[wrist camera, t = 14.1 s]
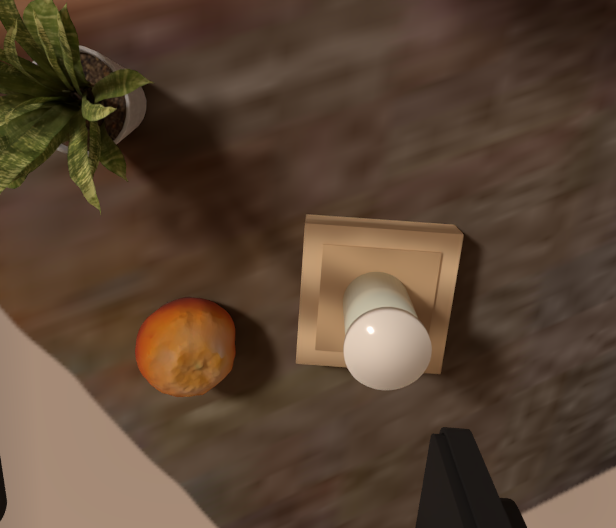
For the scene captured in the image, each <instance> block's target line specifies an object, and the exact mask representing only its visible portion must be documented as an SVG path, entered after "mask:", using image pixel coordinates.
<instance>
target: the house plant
mask: <svg viewBox="0 0 616 528" xmlns="http://www.w3.org/2000/svg"><path fill="white" fill-rule="evenodd" d="M0 20H1V22H2V24H3V25H4V27H5V29H6V30H7V34H6V37H5V40H4V50H3V49H1V48H0V60H2V61H5V62H7V63H9V64H11V65H13V66H14V67H13V66H11V65H8V64H6V63H3V62H1V61H0V93H3V94H8V95H6V96H2V97H0V193H1V192H2V191H3V190H4V189H5V188H6V187H7V188H13V189H15V188H17V187H19V186H20V185H21V184H22V183H23V182H24V180H25V179H26V177H27V175H28V174H29V173H30V172H32V171H33V170H35V169H36V168H37V167H38V166H40V165H41V164H42V163H44V162H45V161H46V160H47V159H48V158H49V157H50V156H51V155H52V154H53V153H54V152H55V150H56V149H57V150H58V151H61V152H63V153H66V154H68V155H67V158H68V168H69V174H70V178H71V179H72V180H73V181H74V182H75V183H76V184H77V185H78V186H79V187H80V189H81V191H82V193H83V195H84V196H85V198H86V199H87V201H88V202H89V203H90V204H92V205H93V206H95V207H96V208H97V209H98V210H100V214H101V209H100V204H99V201H98V198H97V195H96V191H95V187H94V183H93V175H94V173H95V171H96V169H97V166H98V163H99V161H100V162H101V163H102V165H103V166H105V167H106V168H107V169H108V170H110V171H112V172H113V173H115V174H117V175H118V176H120V177H122V178H123V179H125V180H126V181H127V179H126V163H125V159H124V157H123V155H122V153H121V151H120V149H119V148H118V146H117V144H118V143H119V142H120V141H121V140H123V139H124V138H125V137H126V136H127V135H129V134H130V133H131V132H132V131H133V130H134V129H136V128H137V127H138V126H139V125H140V123H141V122H142V120H143V119H144V116H145V112H146V102H147V100H146V97H145V94H144V91H143V89H142V87H141V86H143V85H145V84H148V83H153V82H151V81H149V80H147V79H146V78H145V77H143V76H142V75H141V74H140V73H138V72H137V71H135V70H130V69H125V68H123V67H122V66H120V65H118V64H117V63H115V62H113V61H112V60H110V59H108V58H107V57H105V56H103V55H102V54H100V53H98V52H96V51H94V50H91V49H89V48H87V47H84V46H79V42H78V35H77V33H76V30H75V27H74V25H73V23H72V21H71V19H70V16H69V13H68V11H67V3H66V4H65V6H64V7H63V8H62V9H61V10H60V11H58V8H56V6H55V5H54V3H53V0H35V1H32V2H30V3H29V4H28V6H27V7H26V8H25V10H24V14H23V21H24V23H23V21H22V19H21V16H20V14H19V12H18V10H17V8H16V5H15V3H14V0H0ZM15 40H16V41H17V42H18V43H19V44H20V45H21V46H22V48H23V49H24V50H25V51H26V52H27V54H28V55H29V56H30V57H31V58H32V59H33V60H34V61H33V63H32V62H30V61H28V60H26V59H23V58H21V57H19V56H17V52H16V49H15V43H14V41H15ZM127 182H128V181H127Z"/></svg>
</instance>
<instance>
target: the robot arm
mask: <svg viewBox="0 0 616 528" xmlns="http://www.w3.org/2000/svg"><path fill="white" fill-rule="evenodd" d="M6 506H7V498H6V491H5V485H4V478H3V472H2V465H1V458H0V521H1V519H2V518H3V515H4V513H5V510H6ZM416 528H527V526H526V524H525V522H524V520H523V517H522V515H521V513H520V511H519V509H518V507H517V505H516V504H515V502H514V501H513V500H511V499H508V498H499V496H498V493H497V491H496V489H495V486H494V484H493V481H492V479H491V477H490V474H489V472H488V470H487V467H486V465H485V463H484V460H483V458H482V456H481V453H480V451H479V448H478V446H477V444H476V441H475V439H474V437H473V434H472V432H471V431H470V430H469V429H460V428H447V427H443V428H441V430H440V434H432V435H431V439H430V444H429V450H428V456H427V462H426V468H425V474H424V480H423V486H422V492H421V498H420V504H419V510H418V516H417V522H416Z"/></svg>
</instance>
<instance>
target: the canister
mask: <svg viewBox="0 0 616 528" xmlns="http://www.w3.org/2000/svg"><path fill="white" fill-rule="evenodd" d="M343 315H344V326H345V338H344V343H343V350H344V359H345V363H346V366H347V368H348V370H349V371H350V373H351V374H352V375H353V377H354V378H355V379H357V380H358V381H359V382H360V383H362V384H364V385H366V386H368V387H370V388H374V389H378V390H395V389H399V388H402V387H405V386H407V385H409V384H411V383H413V382H414V381H416V380H417V379H418V378H419V377H420V376H421V375H422V374H423V373H424V371H425V370H426V368H427V367H428V365H429V362H430V359H431V354H432V346H431V341H430V338H429V335H428V333H427V330H426V328H425V327H424V325H423V324H422V322H421V321H420V320H419V319H418V317H417V314H416V312H415V310H414V307H413V305H412V302H411V300H410V297H409V295H408V293H407V290H406V288H405V286H404V285H403V284H402V282H401V281H400V280H399V279H397V278H396V277H394V276H393V275H390V274H388V273H384V272H369V273H365V274H363V275H361V276H359V277H357V278H356V279H354V280H353V281H352V282H351V283H350V284H349V285H348V287H347V289H346V291H345V293H344V296H343Z"/></svg>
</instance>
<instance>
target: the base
mask: <svg viewBox="0 0 616 528" xmlns="http://www.w3.org/2000/svg"><path fill="white" fill-rule="evenodd" d="M463 236H464V234H463V233H462V232H461V231H460V230H459V229H458V228H457V227H456V226H455V225H451V224H437V223H423V222H409V221H395V220H381V219H366V218H352V217H338V216H324V215H310V214H306V220H305V231H304V246H303V262H302V277H301V293H300V308H299V323H298V339H297V354H296V364H309V365H323V366H336V367H347V366H346V363H345V359H344V350H343V343H344V338H345V326H344V315H343V296H344V293H345V291H346V289H347V287H348V285H349V284H350V283H351V282H352V281H353V280H354V279H356V278H357V277H359V276H361V275H363V274H365V273H369V272H384V273H388V274H390V275H393V276H394V277H396V278H397V279H399V280H400V281H401V282H402V284H403V285H404V286H405V288H406V290H407V293H408V295H409V297H410V300H411V302H412V305H413V307H414V310H415V312H416V314H417V317H418V319H419V320H420V321H421V322H422V324H423V325H424V327H425V328H426V330H427V333H428V335H429V338H430V341H431V346H432V354H431V359H430V362H429V365H428V367H427V368H426V370H425V371H424V373H431V374H441V368H442V362H443V356H444V350H445V344H446V338H447V332H448V326H449V320H450V314H451V308H452V302H453V296H454V290H455V284H456V278H457V272H458V266H459V260H460V254H461V248H462V242H463Z"/></svg>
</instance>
